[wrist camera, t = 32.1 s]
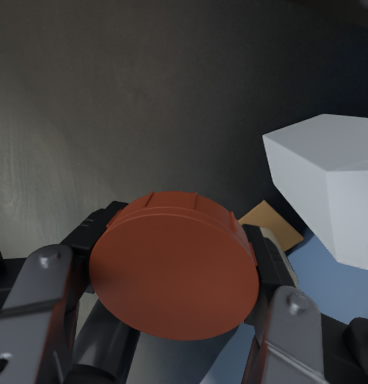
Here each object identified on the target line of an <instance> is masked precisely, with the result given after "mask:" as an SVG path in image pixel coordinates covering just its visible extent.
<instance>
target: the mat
mask: <svg viewBox="0 0 368 384" xmlns="http://www.w3.org/2000/svg"><path fill="white" fill-rule="evenodd" d="M238 222H239V224H240V225H241V226H242V224H243V223H245V224H251V225H256V226H259V227H263V228H267V229H269V230H271V231H272V232H273V233H274V234H275V235H276V237H277V239H278V241H279V243H280V245H281V247H282V249H283V251H284V252H285V251H286V250H288V249H290V248H291V247H293V246H294V245H296V244H297V243H299V242H301V241H302V240H304V238H303V237H302V236H301V235H300V234H299V233H298V232H297V231H296V230H295V229H294V228H293V227H292V226H291V225H290V224H289V223H288V222H287V221H286V220H285V219H284V218H283V217H282V216H281V215H279V214H278V213H277V212H276V211H275V210H274V209H273V208H272V207H271V206H270V205H269V204H268V203H267V202H266V201H265V200H264V201H262V202H261V203H260V204H259V205H257V206H256V207H255V208H254V209H252V210H251V211H250V212H248V213H247V214H246V215H245V216H243V217H242V218H241V219H239V220H238Z"/></svg>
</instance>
